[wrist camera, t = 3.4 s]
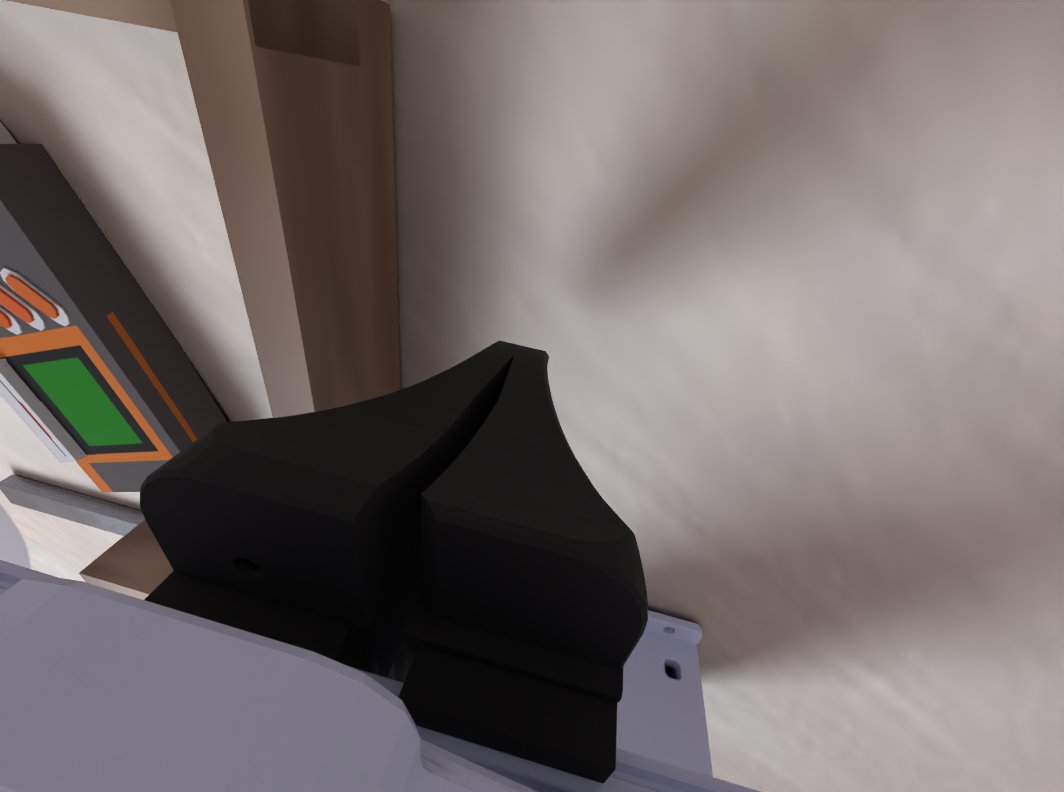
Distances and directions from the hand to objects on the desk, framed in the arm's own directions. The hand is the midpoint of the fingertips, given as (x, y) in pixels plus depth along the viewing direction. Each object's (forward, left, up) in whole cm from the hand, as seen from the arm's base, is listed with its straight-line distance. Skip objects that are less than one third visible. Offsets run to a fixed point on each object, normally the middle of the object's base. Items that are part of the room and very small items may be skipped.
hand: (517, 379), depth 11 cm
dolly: (+11, +4, -2) cm, 12 cm away
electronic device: (+17, +3, -3) cm, 18 cm away
